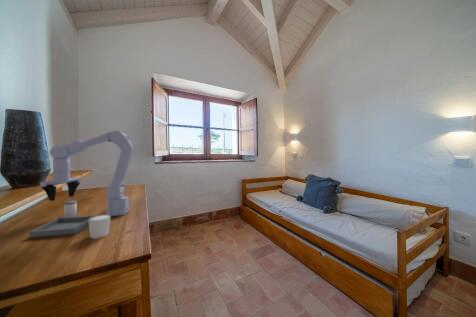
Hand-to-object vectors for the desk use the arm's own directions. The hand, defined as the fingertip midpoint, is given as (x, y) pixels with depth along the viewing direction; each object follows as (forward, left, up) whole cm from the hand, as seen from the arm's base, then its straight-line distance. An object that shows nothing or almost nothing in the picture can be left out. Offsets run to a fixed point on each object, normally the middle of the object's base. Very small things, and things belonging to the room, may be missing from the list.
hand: (62, 198), depth 82 cm
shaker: (-4, +1, -10) cm, 11 cm away
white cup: (-26, +23, -10) cm, 36 cm away
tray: (-10, +14, -10) cm, 20 cm away
